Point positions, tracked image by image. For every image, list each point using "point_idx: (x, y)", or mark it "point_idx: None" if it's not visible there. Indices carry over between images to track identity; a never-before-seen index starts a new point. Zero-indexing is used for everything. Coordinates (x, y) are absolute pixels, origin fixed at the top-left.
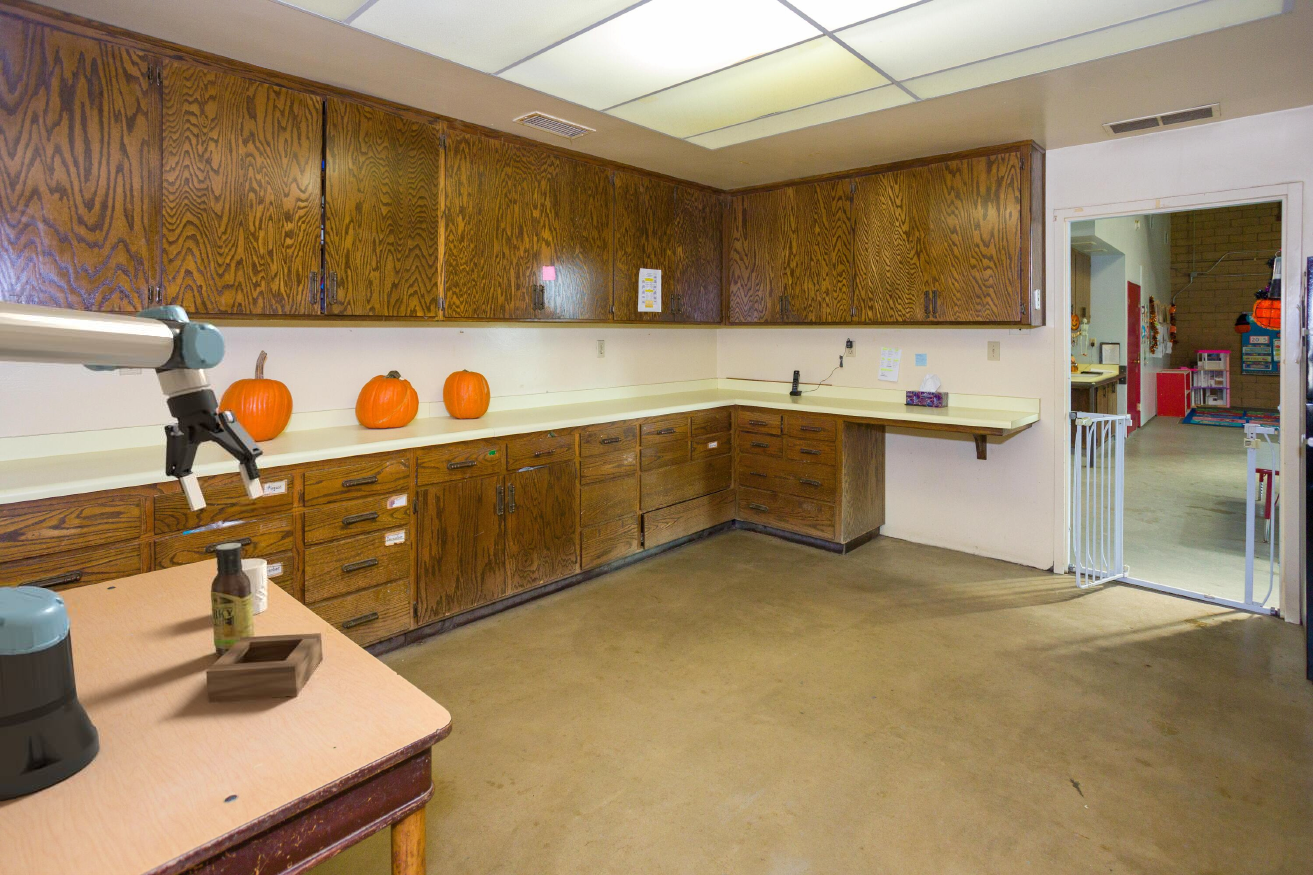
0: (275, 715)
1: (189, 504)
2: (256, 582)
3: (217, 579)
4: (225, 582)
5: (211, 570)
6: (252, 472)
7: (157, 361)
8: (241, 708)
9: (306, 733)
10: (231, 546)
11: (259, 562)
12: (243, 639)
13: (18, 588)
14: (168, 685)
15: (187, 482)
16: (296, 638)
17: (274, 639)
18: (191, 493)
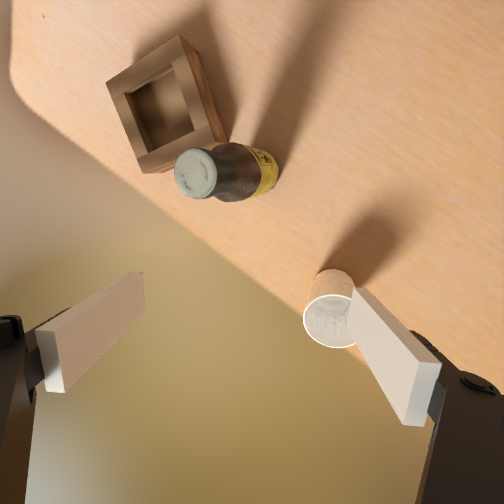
0: (121, 49)
1: (374, 297)
2: (308, 297)
3: (228, 150)
4: (213, 149)
5: None
6: (51, 318)
7: None
8: None
9: (76, 28)
10: (186, 172)
11: (328, 341)
12: (208, 135)
13: None
14: (271, 71)
15: (398, 354)
16: (155, 153)
17: (174, 144)
18: (375, 325)
